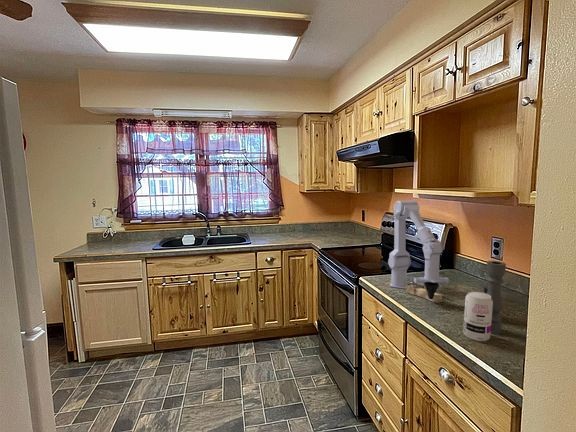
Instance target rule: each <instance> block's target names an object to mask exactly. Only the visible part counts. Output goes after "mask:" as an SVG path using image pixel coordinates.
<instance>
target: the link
mask: <svg viewBox="0 0 576 432" xmlns="http://www.w3.org/2000/svg"><path fill="white" fill-rule="evenodd" d="M405 293H407V294H411V295H413V296H418V297H420V298H422V299H425V300H427V301H431V302H433V303H435V304H436V303H437V304H438V303H442V302H443V295H442V294H439V293H437V292H435V294H434V296H433V299H429V298H428V293H427V289H424V288H423V287H421V286H418V285H417V284H416V285H415V288H413V287H411V284H408V285H407V286H406V289H405Z"/></svg>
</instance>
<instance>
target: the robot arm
mask: <svg viewBox="0 0 576 432" xmlns="http://www.w3.org/2000/svg"><path fill="white" fill-rule="evenodd" d="M393 217H394V220H393V221H394V228H393V229H394V230H393V231H394V235H393V236H394V237H393V238H394V239H393V240H394V242H393V244H394V245H393V248H394V249H393V250H392V251H390V252H389V254H388V255H389V256H388V257H389V258H388V260H387V263H388V266H389V268H390V269H391V276H390V277H391V279H390V284H389V286H388V287H391V288H399V289H405V290H406V286H408V285H409V282H407V275H408V274H407V273H408V272H407V270H408V269H409V267H410V266H411V262H412V260H411V257H410V252H408V251H407V250H406V246H407V245H406V241H407V240H406V231H407V230H406V229H407V227H406V225H407V224H406V221H407V218H410V220H411V221H412V222H413V224H414V225H415V227H416V229H417V231H416V233H417V236H418V238H419V240H420V241H421V243H422V252H423V257H424V276H419V277H413V281H414V282H415V283H417V284H418V283H419V284H420V283H421V284H424V287H426V290H427V293H428V298H429V299H433V296H434V294H435V293H437V292H436V291H437V290H438V289H439V287H440V284H439V283H441V284H443V283H446V284H450V278H448V277H440V257H441V255H442V253H443V251H444V245H443V243H442V241H440V240H438V239H437V238H436V237H435V235H434V234H433V232H432V230H431V228H430V227H429V226H426V224H425V222H424V220H423V218H422V217H421V214H420V206H419V203H418V202H417V201H416V200H415V199H414V200H396V202H395V203H394V204H393Z"/></svg>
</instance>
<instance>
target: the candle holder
mask: <svg viewBox="0 0 576 432" xmlns="http://www.w3.org/2000/svg"><path fill="white" fill-rule="evenodd" d="M506 267H507V263H505V262H502V261H496V260H488V261H486V270H485V271H486V273H487V275H488V277H487V278H486V281H487V286H488V291H487V294H488V295H490V296H491V298H492V300H493V308H492V321H491V334H493V335H499V334H502V332H503V331H502V329H503V322H502V317H501V316H500V314H501V312H502V311H503V309H504V303H503V298H502V293H501V292H502V284H504V282H505V280H503V277H504V276H505V274H506Z"/></svg>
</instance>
